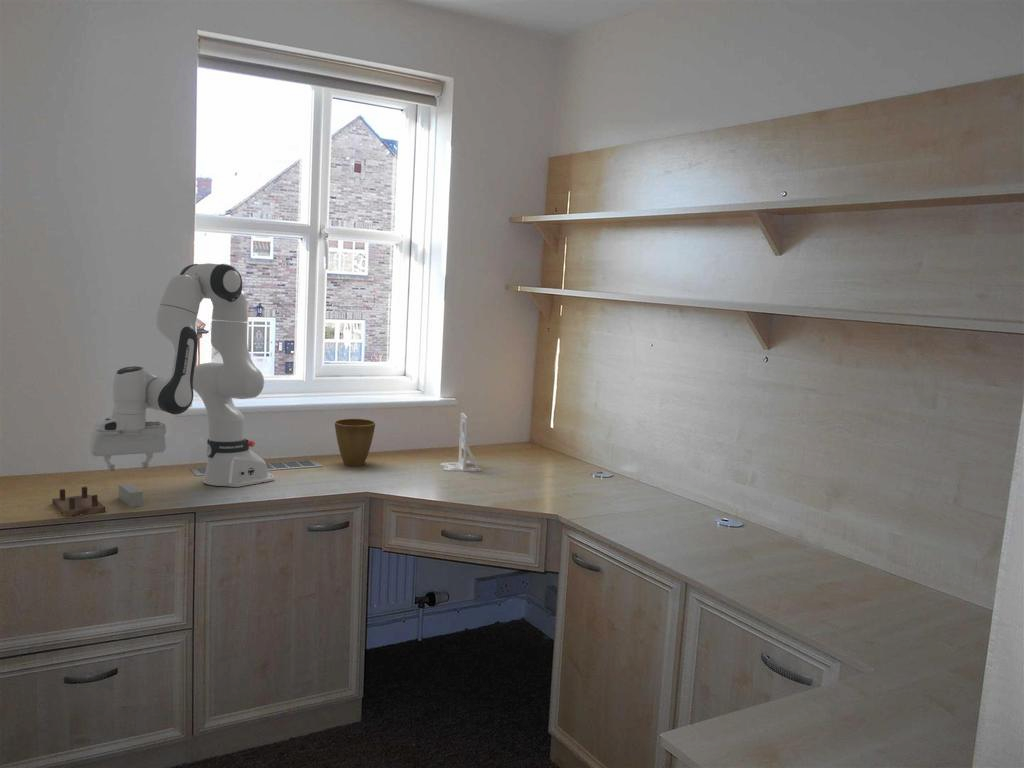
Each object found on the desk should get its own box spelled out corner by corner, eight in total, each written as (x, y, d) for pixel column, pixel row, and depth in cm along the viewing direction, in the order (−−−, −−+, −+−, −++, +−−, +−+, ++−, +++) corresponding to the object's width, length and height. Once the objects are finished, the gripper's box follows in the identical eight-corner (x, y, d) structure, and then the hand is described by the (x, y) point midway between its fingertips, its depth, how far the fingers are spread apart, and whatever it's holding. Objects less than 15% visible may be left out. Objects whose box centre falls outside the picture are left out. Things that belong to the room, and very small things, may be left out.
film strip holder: (439, 463, 321) (441, 411, 319) (475, 463, 324) (477, 412, 322) (443, 471, 307) (445, 417, 305) (481, 471, 310) (483, 418, 308)
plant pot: (328, 461, 315) (329, 419, 313) (366, 459, 322) (367, 418, 320) (340, 469, 302) (341, 425, 300) (379, 467, 309) (380, 424, 307)
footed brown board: (90, 499, 247) (90, 484, 247) (105, 512, 235) (105, 496, 235) (52, 503, 241) (52, 488, 240) (65, 517, 229) (65, 500, 228)
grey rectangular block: (130, 497, 253) (130, 483, 252) (142, 506, 244) (142, 491, 243) (118, 498, 251) (118, 484, 250) (130, 507, 242) (130, 493, 241)
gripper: (162, 419, 253) (161, 464, 255) (88, 422, 240) (88, 470, 241) (169, 422, 249) (168, 468, 250) (94, 425, 235) (93, 474, 237)
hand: (128, 469), depth 246 cm, fingers open, 8 cm apart
